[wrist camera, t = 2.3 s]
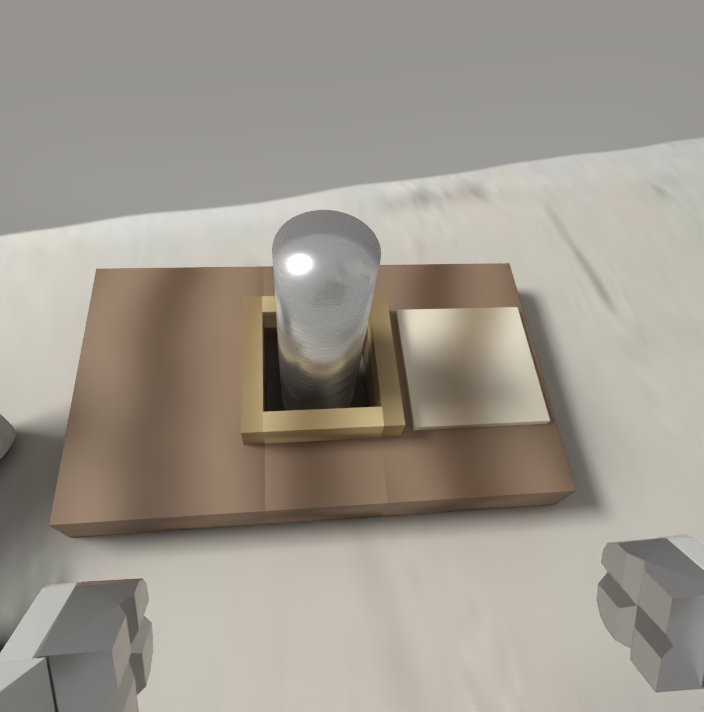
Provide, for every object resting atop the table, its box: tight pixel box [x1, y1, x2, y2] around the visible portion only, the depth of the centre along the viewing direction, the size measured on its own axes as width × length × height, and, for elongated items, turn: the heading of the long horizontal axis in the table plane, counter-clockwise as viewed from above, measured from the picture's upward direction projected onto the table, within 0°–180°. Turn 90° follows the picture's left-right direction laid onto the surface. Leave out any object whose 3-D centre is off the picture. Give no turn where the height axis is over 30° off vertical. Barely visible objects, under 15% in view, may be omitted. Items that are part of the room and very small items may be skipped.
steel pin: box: [272, 210, 381, 411], centre depth 25 cm, size 4×4×12 cm
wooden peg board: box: [49, 263, 576, 537], centre depth 29 cm, size 24×14×4 cm, turn 95°
